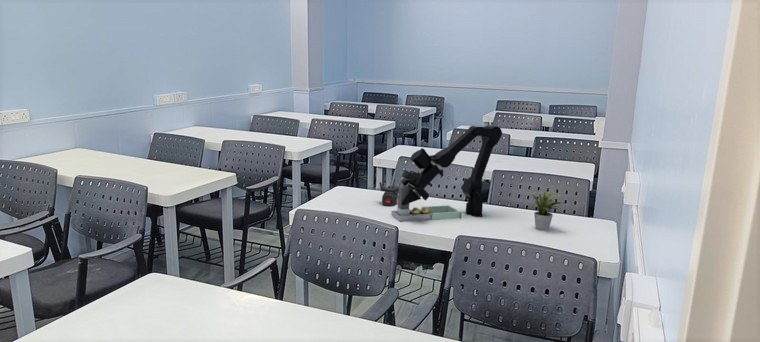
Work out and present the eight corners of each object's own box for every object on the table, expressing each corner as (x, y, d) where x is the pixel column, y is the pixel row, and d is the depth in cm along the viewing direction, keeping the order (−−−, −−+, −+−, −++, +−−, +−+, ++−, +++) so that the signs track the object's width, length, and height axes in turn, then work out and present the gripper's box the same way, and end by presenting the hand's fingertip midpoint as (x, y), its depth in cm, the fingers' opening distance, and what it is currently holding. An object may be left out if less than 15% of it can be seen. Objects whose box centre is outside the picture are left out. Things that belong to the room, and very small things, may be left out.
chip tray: (448, 210, 236) (448, 205, 236) (460, 218, 225) (461, 212, 225) (421, 212, 232) (421, 206, 232) (432, 219, 221) (432, 213, 221)
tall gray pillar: (405, 216, 226) (407, 185, 224) (409, 218, 222) (410, 187, 220) (396, 216, 225) (398, 186, 222) (400, 219, 221) (401, 188, 219)
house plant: (533, 235, 206) (537, 193, 203) (515, 225, 219) (518, 185, 216) (566, 233, 210) (570, 192, 207) (546, 223, 223) (549, 184, 220)
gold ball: (427, 214, 229) (428, 205, 228) (431, 217, 225) (432, 207, 225) (419, 215, 228) (419, 206, 227) (422, 217, 224) (423, 208, 223)
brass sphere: (418, 215, 228) (418, 206, 227) (421, 217, 224) (422, 208, 223) (409, 215, 226) (409, 206, 226) (412, 218, 223) (413, 208, 222)
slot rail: (448, 212, 236) (448, 206, 236) (460, 219, 225) (461, 213, 225) (390, 215, 228) (390, 210, 228) (400, 223, 217) (400, 217, 216)
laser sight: (402, 197, 262) (403, 177, 261) (398, 208, 241) (399, 187, 239) (383, 196, 264) (383, 176, 262) (377, 207, 242) (377, 185, 240)
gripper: (406, 159, 229) (380, 185, 228) (422, 167, 212) (395, 195, 210) (422, 177, 233) (397, 203, 232) (440, 186, 216) (413, 214, 214)
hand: (400, 203), depth 222 cm, fingers closed on tall gray pillar, 4 cm apart
